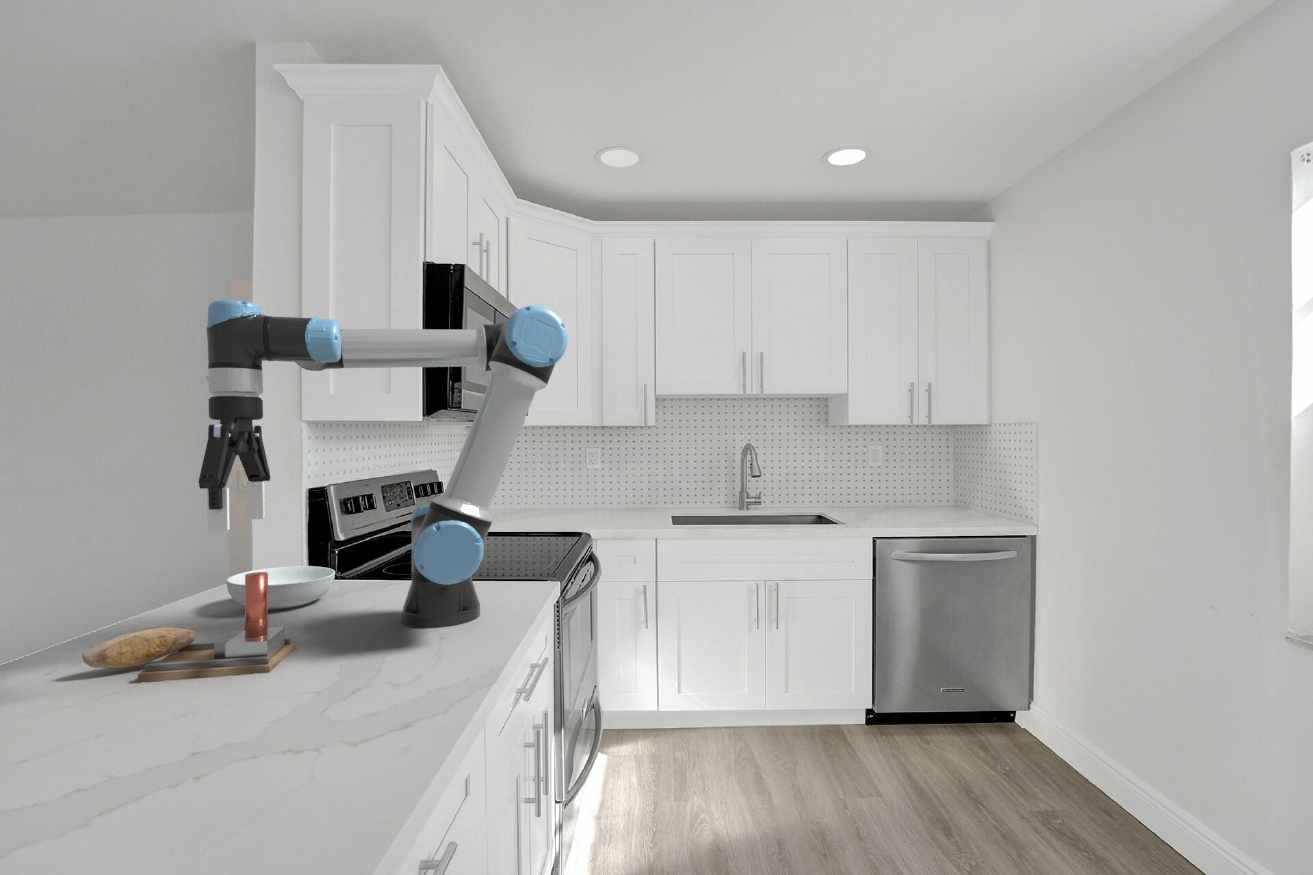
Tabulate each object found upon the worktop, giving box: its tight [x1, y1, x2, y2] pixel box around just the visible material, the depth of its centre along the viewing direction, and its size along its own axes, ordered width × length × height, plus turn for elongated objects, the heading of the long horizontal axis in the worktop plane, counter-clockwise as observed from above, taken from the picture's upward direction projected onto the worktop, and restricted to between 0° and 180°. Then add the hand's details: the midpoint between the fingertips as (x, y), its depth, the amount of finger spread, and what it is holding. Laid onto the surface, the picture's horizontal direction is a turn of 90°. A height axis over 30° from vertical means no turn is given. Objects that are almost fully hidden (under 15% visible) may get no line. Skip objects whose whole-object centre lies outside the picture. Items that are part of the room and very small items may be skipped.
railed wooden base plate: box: [137, 637, 296, 684], centre depth 105 cm, size 18×12×2 cm, turn 102°
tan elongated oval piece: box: [81, 626, 197, 669], centre depth 104 cm, size 5×14×4 cm
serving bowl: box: [225, 565, 336, 611], centre depth 143 cm, size 21×21×7 cm
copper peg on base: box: [213, 572, 286, 660], centre depth 106 cm, size 8×8×13 cm
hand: (238, 524), depth 107 cm, fingers open, 13 cm apart
